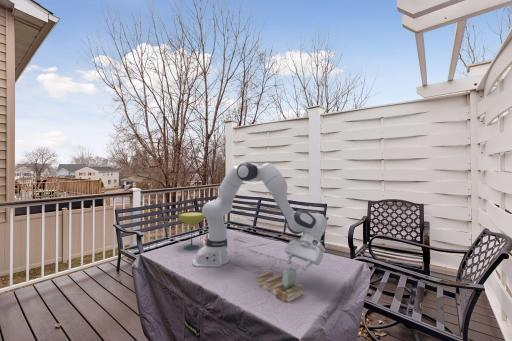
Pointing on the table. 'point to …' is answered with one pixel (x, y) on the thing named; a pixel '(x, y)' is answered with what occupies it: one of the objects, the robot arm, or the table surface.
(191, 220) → the cocktail glass
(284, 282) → the block
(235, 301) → the table surface
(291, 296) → the rack
